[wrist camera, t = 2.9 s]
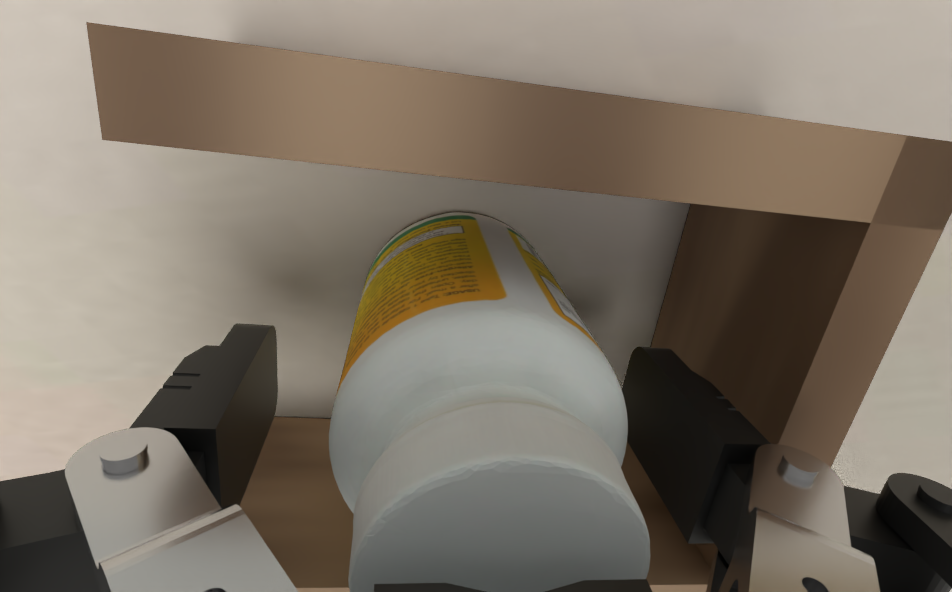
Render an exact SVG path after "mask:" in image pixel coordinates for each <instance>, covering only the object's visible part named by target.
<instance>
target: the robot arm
mask: <svg viewBox="0 0 952 592" xmlns="http://www.w3.org/2000/svg"><path fill="white" fill-rule="evenodd" d="M277 392H278V387H277V344H276V330H275V327H274V326H270V325H252V324H235V325H234V326H233V328H232V329H231V331H230V332H229V333H228V335H227V336H226V338H225V339H224V341H223V342H222V344H221V345H220V346H207V345H206V346H204V347H202V348H200V349H199V350H197V351H195V352H194V353H192V354H190V355H188V356H187V357H185V358H184V359H183V361H182V362H181V363H180V364H179V366H178V367H177V368H176V369H175V371H174V372H173V376H170V377H169V378H168V380H167V381H166V382H165V383H164V385H163V389H160V390H159V391H158V392H157V394H156V395H155V396H154V398H153V399H152V400H151V401H150V403H149V404H148V405H147V406H146V408H145V409H144V410H143V412H142V413H141V414H140V415H139V417H138V418H137V419H136V420H135V422H134V423H133V424H132V426H131V427H130V428H129V429H124V430H120V431H116V432H112V433H109V434H107V435H104V436H101V437H99V438H97V439H95V440H93V441H91V442H89V443H88V444H86V445H84V446H83V447H82V448H80V449H79V450H78V451H77V452H76V453H75V454H73V456H72V457H71V458H70V459H69V461H68V463H67V465H66V468H65V469H64V470H60V471H55V472H50V473H45V474H39V475H34V476H28V477H23V478H17V479H11V480H6V481H0V592H298V591H297V589H296V588H295V586H294V585H293V583H292V582H291V580H290V579H289V577H288V576H287V574H286V573H285V571H284V570H283V568H282V567H281V565H280V564H279V562H278V561H277V560H276V558H275V557H274V555H273V554H272V552H271V551H270V549H269V548H268V546H267V545H266V543H265V542H264V540H263V539H262V537H261V536H260V534H259V533H258V531H257V530H256V528H255V527H254V525H253V524H252V522H251V521H250V520H249V518H248V517H247V515H246V514H245V512H244V511H243V510H242V508H241V507H240V504H241V501H242V499H243V496H244V493H245V491H246V488H247V486H248V483H249V481H250V478H251V475H252V473H253V470H254V468H255V465H256V463H257V460H258V457H259V455H260V452H261V450H262V447H263V445H264V442H265V439H266V437H267V434H268V432H269V429H270V427H271V424H272V421H273V419H274V415H275V410H276V404H277ZM622 392H623V396H624V400H625V405H626V410H627V419H628V435H627V442H628V443H629V445H630V447H631V448H632V450H633V452H634V454H635V455H636V457H637V459H638V460H639V462H640V464H641V465H642V467H643V469H644V470H645V472H646V474H647V475H648V477H649V479H650V480H651V482H652V484H653V486H654V487H655V489H656V491H657V492H658V494H659V496H660V497H661V499H662V501H663V502H664V504H665V506H666V507H667V509H668V511H669V512H670V514H671V516H672V518H673V519H674V521H675V523H676V524H677V526H678V528H679V529H680V531H681V533H682V534H683V536H684V538H685V539H686V541H687V543H688V544H700V543H714V544H715V545H716V547H717V551H716V554H715V556H714V559H713V561H712V565H711V570H710V575H709V580H708V585H707V590H706V592H949V591H950V590H951V588H952V489H950V488H948V487H946V486H944V485H942V484H940V483H937V482H935V481H933V480H930V479H927V478H924V477H921V476H917V475H913V474H906V473H897V474H893V475H891V476H890V477H889V478H888V480H887V482H886V484H885V485H884V487H883V489H882V491H881V493H880V494H876V493H872V492H868V491H863V490H859V489H855V488H851V487H846V486H843V483H842V481H841V479H840V477H839V476H838V475H837V474H836V472H835V471H834V470H832V469H831V468H830V467H829V466H828V465H827V464H825V463H824V462H822V461H821V460H819V459H818V458H816V457H814V456H812V455H810V454H808V453H806V452H804V451H802V450H799V449H796V448H793V447H790V446H786V445H781V444H771V443H770V442H769V441H768V440H767V439H766V438H765V437H764V436H763V435H762V434H761V433H760V432H759V431H758V430H757V429H756V428H755V427H754V426H753V425H752V424H751V423H750V422H749V421H748V420H747V419H746V418H745V417H744V416H743V415H742V414H741V413H740V412H739V411H736V407H735V406H734V405H733V404H732V403H731V402H730V401H729V400H728V399H725V396H724V395H723V394H722V393H721V392H720V391H719V390H718V389H717V388H716V387H715V386H714V385H713V384H712V383H711V382H710V381H708V380H706V379H705V378H703V377H701V376H700V375H698V374H697V373H695V372H693V371H692V370H691V369H690V368H689V367H688V366H687V365H686V364H685V363H684V362H683V361H682V360H681V359H680V358H679V357H678V356H677V355H676V354H675V353H674V351H672V350H671V349H668V348H652V347H637V348H635V349H634V351H633V352H632V355H631V358H630V361H629V365H628V369H627V373H626V376H625V380H624V384H623V388H622ZM374 592H486V591H481V590H477V589H472V588H467V587H463V586H458V585H454V584H449V583H401V584H374ZM545 592H652V590H651V587H650V585H649V583H648V581H647V579H627V580H583V581H580V582H576V583H573V584H569V585H566V586H562V587H559V588H555V589H552V590H549V591H545Z"/></svg>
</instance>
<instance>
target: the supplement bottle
mask: <svg viewBox="0 0 952 592" xmlns="http://www.w3.org/2000/svg"><path fill="white" fill-rule="evenodd" d="M627 435H628V419H627V410H626V405H625V400H624V396H623V392H622V390H621V387H620V384H619V381H618V379H617V377H616V375H615V373H614V371H613V369H612V367H611V365H610V364H609V362H608V360H607V359H606V357H605V355H604V354H603V352H602V350H601V349H600V347H599V346H598V344H597V343H596V341H595V340H594V338H593V336H592V335H591V333H590V332H589V330H588V329H587V327H586V326H585V324H584V323H583V321H582V320H581V318H580V317H579V316H578V314H577V313H576V311H575V310H574V308H573V306H572V305H571V303H570V302H569V300H568V299H567V297H566V296H565V294H564V293H563V291H562V290H561V288H560V287H559V285H558V284H557V282H556V281H555V279H554V277H553V276H552V274H551V273H550V271H549V270H548V268H547V267H546V265H545V264H544V263H543V261H542V260H541V258H540V257H539V255H538V254H537V253H536V251H535V250H534V249H533V247H532V246H531V245H530V244H529V243H528V242H527V240H526V239H525V238H524V237H522V236H521V235H520V234H519V233H518V232H517V231H515V230H514V229H512V228H511V227H509V226H508V225H506V224H504V223H502V222H500V221H498V220H495V219H493V218H490V217H487V216H483V215H479V214H473V213H463V212H455V213H446V214H441V215H437V216H434V217H430V218H427V219H425V220H422V221H419V222H417V223H415V224H413V225H411V226H409V227H407V228H406V229H404V230H403V231H401V232H399V233H398V234H397V235H396V236H394V237H393V238H392V239H391V240H390V241H389V242H388V243H387V244H386V245H385V246H384V247H383V248H382V250H381V251H380V252H379V253H378V255H377V257H376V258H375V260H374V262H373V263H372V266H371V268H370V270H369V273H368V276H367V278H366V281H365V285H364V288H363V292H362V297H361V300H360V303H359V307H358V311H357V316H356V319H355V323H354V327H353V331H352V335H351V340H350V344H349V348H348V352H347V356H346V360H345V364H344V368H343V372H342V376H341V379H340V383H339V387H338V390H337V394H336V398H335V402H334V406H333V411H332V416H331V421H330V429H329V453H330V460H331V465H332V470H333V474H334V477H335V480H336V483H337V485H338V488H339V490H340V492H341V494H342V496H343V499H344V500H345V502H346V504H347V505H348V507H349V508H350V510H351V511H352V513H353V514H354V516H353V538H352V547H351V556H350V566H349V577H348V582H349V589H350V592H374V584H401V583H449V584H454V585H458V586H463V587H467V588H472V589H477V590H481V591H486V592H545V591H549V590H552V589H555V588H559V587H562V586H566V585H569V584H573V583H576V582H580V581H583V580H627V579H646V577H647V574H648V572H649V565H650V538H649V533H648V529H647V526H646V523H645V520H644V517H643V515H642V512H641V510H640V508H639V506H638V504H637V502H636V500H635V498H634V496H633V494H632V492H631V490H630V488H629V486H628V484H627V482H626V479H625V477H624V474H623V472H622V469H621V466H622V463H623V459H624V456H625V451H626V444H627Z"/></svg>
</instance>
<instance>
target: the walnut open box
mask: <svg viewBox="0 0 952 592" xmlns="http://www.w3.org/2000/svg"><path fill="white" fill-rule="evenodd" d="M86 23H87V30H88V38H89V45H90V52H91V60H92V67H93V74H94V82H95V89H96V96H97V104H98V111H99V118H100V126H101V133H102V140H110V141H119V142H128V143H137V144H146V145H156V146H165V147H174V148H183V149H193V150H202V151H211V152H220V153H230V154H239V155H248V156H257V157H267V158H276V159H285V160H294V161H304V162H313V163H322V164H331V165H341V166H350V167H359V168H368V169H378V170H387V171H396V172H405V173H414V174H424V175H433V176H442V177H451V178H461V179H470V180H479V181H488V182H498V183H507V184H516V185H525V186H535V187H544V188H553V189H562V190H572V191H581V192H590V193H599V194H609V195H618V196H627V197H636V198H645V199H655V200H664V201H673V202H682V203H691V206H690V210H689V213H688V217H687V220H686V224H685V227H684V231H683V234H682V238H681V241H680V245H679V248H678V252H677V256H676V259H675V263H674V266H673V270H672V273H671V277H670V280H669V284H668V287H667V291H666V294H665V298H664V302H663V305H662V309H661V312H660V316H659V319H658V323H657V326H656V330H655V333H654V337H653V340H652V344H651V347H652V348H668V349H671V350H672V351H674V353H675V354H676V355H677V356H678V357H679V358H680V359H681V360H682V361H683V362H684V363H685V364H686V365H687V366H688V367H689V368H690V369H691V370H692V371H693V372H695V373H697V374H698V375H700V376H701V377H703V378H705V379H706V380H708V381H710V382H711V383H712V384H713V385H714V386H715V387H716V388H717V389H718V390H719V391H720V392H721V393H722V394H723V395H724V396H725V399H728V400H729V401H730V402H731V403H732V404H733V405H734V406H735V407H736V411H739V412H740V413H741V414H742V415H743V416H744V417H745V418H746V419H747V420H748V421H749V422H750V423H751V424H752V425H753V426H754V427H755V428H756V429H757V430H758V431H759V432H760V433H761V434H762V435H763V436H764V437H765V438H766V439H767V440H768V441H769V442H770V443H771V444H781V445H786V446H790V447H793V448H796V449H799V450H802V451H804V452H806V453H808V454H810V455H812V456H814V457H816V458H818V459H819V460H821V461H822V462H824V463H825V464H827V465H828V466H829V467H830V468H831V466H832V464H833V461H834V459H835V457H836V455H837V453H838V451H839V449H840V447H841V445H842V442H843V440H844V438H845V436H846V434H847V432H848V430H849V428H850V426H851V424H852V421H853V419H854V417H855V415H856V413H857V411H858V409H859V407H860V405H861V402H862V400H863V398H864V396H865V394H866V392H867V390H868V388H869V386H870V383H871V381H872V379H873V377H874V375H875V373H876V371H877V369H878V367H879V364H880V362H881V360H882V358H883V356H884V354H885V352H886V350H887V348H888V345H889V343H890V341H891V339H892V337H893V335H894V333H895V331H896V329H897V326H898V324H899V322H900V320H901V318H902V316H903V314H904V312H905V310H906V308H907V305H908V303H909V301H910V299H911V297H912V295H913V293H914V291H915V289H916V286H917V284H918V282H919V280H920V278H921V276H922V274H923V272H924V270H925V267H926V265H927V263H928V261H929V259H930V257H931V255H932V253H933V251H934V248H935V246H936V244H937V242H938V240H939V238H940V236H941V234H942V232H943V229H944V227H945V225H946V223H947V221H948V219H949V217H950V215H951V213H952V142H950V141H942V140H935V139H928V138H921V137H913V136H906V135H899V134H892V133H884V132H877V131H870V130H863V129H855V128H848V127H841V126H834V125H827V124H819V123H812V122H805V121H798V120H790V119H783V118H776V117H769V116H761V115H754V114H747V113H740V112H732V111H725V110H718V109H711V108H703V107H696V106H689V105H682V104H674V103H667V102H660V101H653V100H646V99H638V98H631V97H624V96H617V95H609V94H602V93H595V92H588V91H580V90H573V89H566V88H559V87H551V86H544V85H537V84H530V83H522V82H515V81H508V80H501V79H493V78H486V77H479V76H472V75H464V74H457V73H450V72H443V71H436V70H428V69H421V68H414V67H407V66H399V65H392V64H385V63H378V62H370V61H363V60H356V59H349V58H341V57H334V56H327V55H320V54H312V53H305V52H298V51H291V50H283V49H276V48H269V47H262V46H255V45H247V44H240V43H233V42H226V41H218V40H211V39H204V38H197V37H189V36H182V35H175V34H168V33H160V32H153V31H146V30H139V29H131V28H124V27H117V26H110V25H102V24H95V23H88V22H86ZM330 421H331V419H320V418H293V417H274V419H273V421H272V424H271V427H270V429H269V432H268V434H267V437H266V439H265V442H264V445H263V447H262V450H261V452H260V455H259V457H258V460H257V463H256V465H255V468H254V470H253V473H252V475H251V478H250V481H249V483H248V486H247V488H246V491H245V493H244V496H243V499H242V501H241V504H240V507H241V508H242V510H243V511H244V512H245V514H246V515H247V517H248V518H249V520H250V521H251V522H252V524H253V525H254V527H255V528H256V530H257V531H258V533H259V534H260V536H261V537H262V539H263V540H264V542H265V543H266V545H267V546H268V548H269V549H270V551H271V552H272V554H273V555H274V557H275V558H276V560H277V561H278V562H279V564H280V565H281V567H282V568H283V570H284V571H285V573H286V574H287V576H288V577H289V579H290V580H291V582H292V583H293V585H294V586H295V588H296V589H297V591H298V592H350V589H349V582H348V577H349V566H350V556H351V547H352V538H353V516H354V514H353V513H352V511H351V510H350V508H349V507H348V505H347V504H346V502H345V500H344V499H343V496H342V494H341V492H340V490H339V488H338V485H337V483H336V480H335V477H334V474H333V470H332V465H331V460H330V453H329V429H330ZM621 469H622V472H623V474H624V477H625V479H626V482H627V484H628V486H629V488H630V490H631V492H632V494H633V496H634V498H635V500H636V502H637V504H638V506H639V508H640V510H641V512H642V515H643V517H644V520H645V523H646V526H647V529H648V533H649V538H650V565H649V572H648V574H647V577H646V579H647V581H648V583H649V585H650V587H651V590H652V592H706V590H707V585H708V580H709V575H710V570H711V565H712V561H713V559H714V556H715V554H716V551H717V547H716V545H715V544H714V543H700V544H688V543H687V541H686V539H685V538H684V536H683V534H682V533H681V531H680V529H679V528H678V526H677V524H676V523H675V521H674V519H673V518H672V516H671V514H670V512H669V511H668V509H667V507H666V506H665V504H664V502H663V501H662V499H661V497H660V496H659V494H658V492H657V491H656V489H655V487H654V486H653V484H652V482H651V480H650V479H649V477H648V475H647V474H646V472H645V470H644V469H643V467H642V465H641V464H640V462H639V460H638V459H637V457H636V455H635V454H634V452H633V450H632V448H631V447H630V445H629V443H628V442H627V444H626V451H625V456H624V459H623V463H622V466H621Z"/></svg>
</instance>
